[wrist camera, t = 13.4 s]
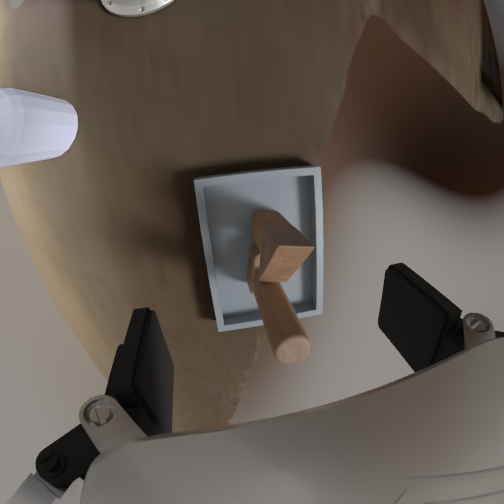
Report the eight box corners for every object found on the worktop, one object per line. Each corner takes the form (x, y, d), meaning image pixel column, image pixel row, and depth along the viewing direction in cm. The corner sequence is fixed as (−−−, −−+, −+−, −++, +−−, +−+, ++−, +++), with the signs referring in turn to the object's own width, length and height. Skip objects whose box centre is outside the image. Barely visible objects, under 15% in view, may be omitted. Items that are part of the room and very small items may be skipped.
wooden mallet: (279, 211, 39) (332, 262, 23) (271, 283, 43) (308, 365, 26) (252, 209, 39) (288, 261, 22) (246, 283, 42) (271, 368, 26)
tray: (194, 177, 37) (193, 180, 34) (312, 165, 38) (320, 166, 36) (217, 320, 45) (218, 331, 42) (316, 304, 46) (322, 313, 44)
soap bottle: (81, 157, 33) (-41, 185, 11) (30, 159, 31) (-91, 191, 9) (87, 96, 30) (-28, 62, 8) (34, 102, 28) (-84, 92, 6)
